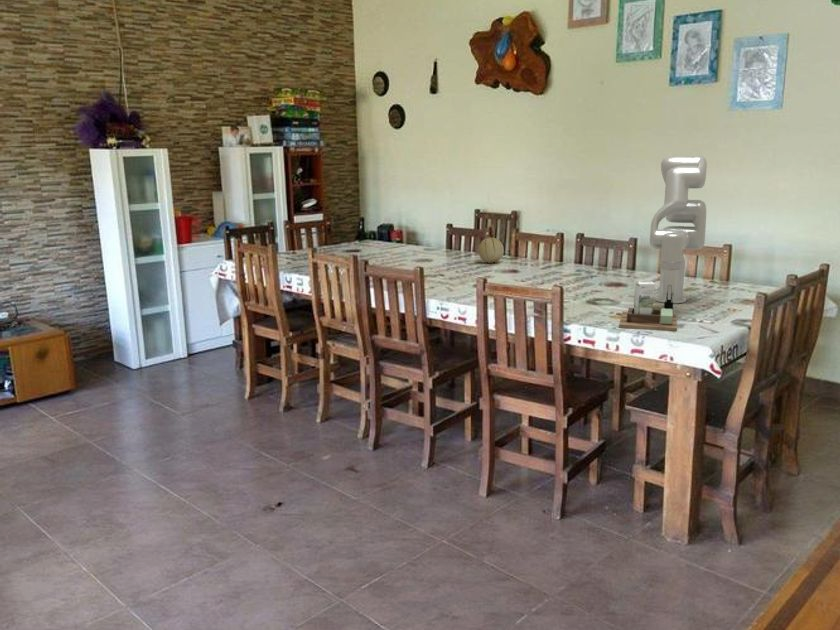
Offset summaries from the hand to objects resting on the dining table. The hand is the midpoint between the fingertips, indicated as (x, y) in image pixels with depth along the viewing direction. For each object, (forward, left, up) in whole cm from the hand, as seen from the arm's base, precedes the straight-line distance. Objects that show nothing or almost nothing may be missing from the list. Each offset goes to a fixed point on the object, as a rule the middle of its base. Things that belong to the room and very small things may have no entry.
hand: (668, 312), depth 282 cm
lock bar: (+12, -1, 0) cm, 12 cm away
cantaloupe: (-112, -96, -2) cm, 148 cm away
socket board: (+11, -7, -2) cm, 13 cm away
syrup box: (+12, -9, -1) cm, 15 cm away
